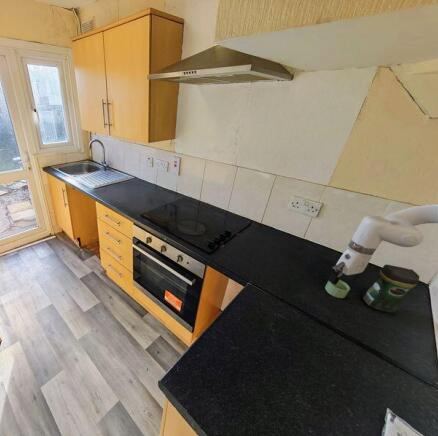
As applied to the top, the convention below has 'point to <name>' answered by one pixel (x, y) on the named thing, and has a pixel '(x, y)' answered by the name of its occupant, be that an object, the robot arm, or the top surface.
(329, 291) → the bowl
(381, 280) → the coffee jar
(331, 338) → the top surface
